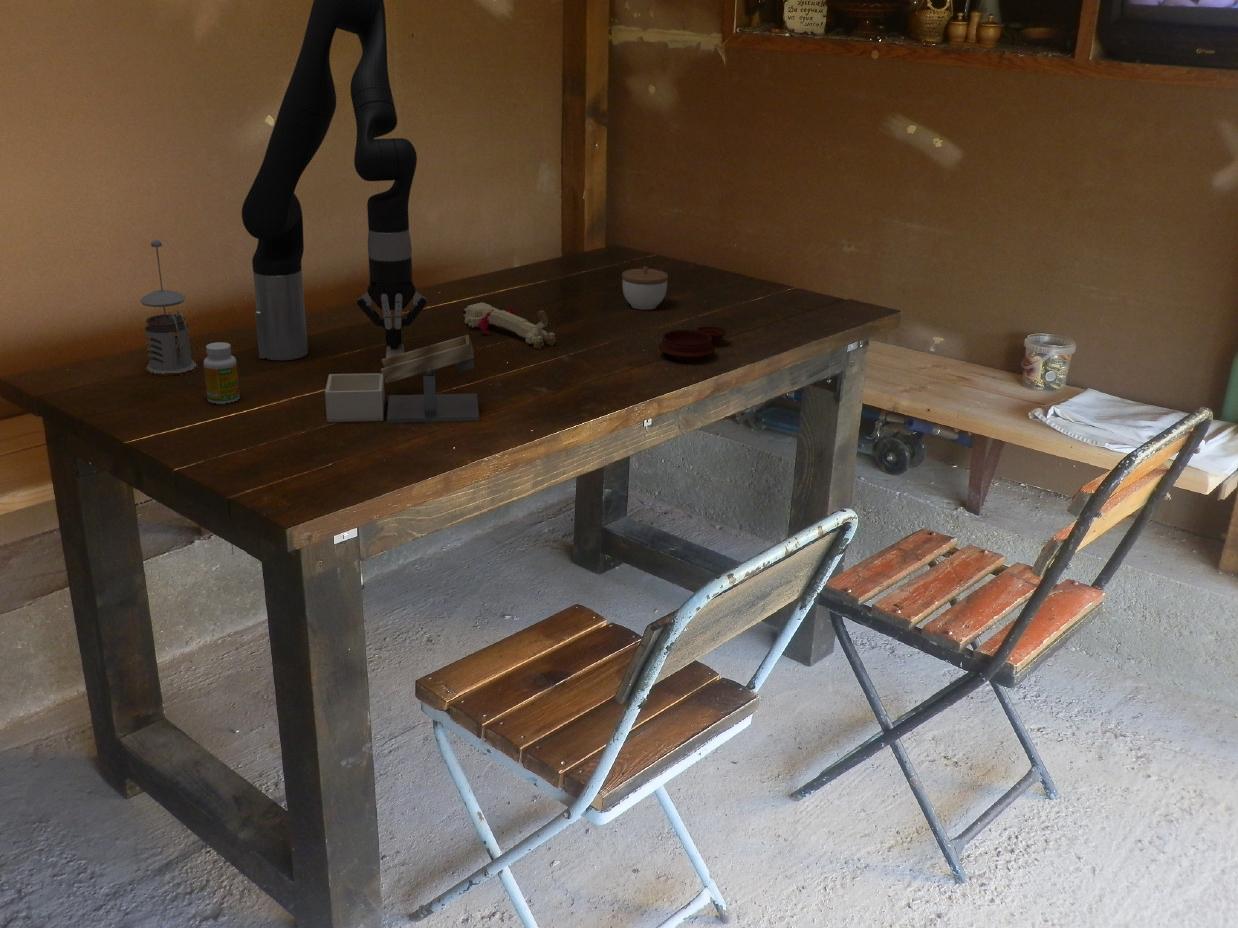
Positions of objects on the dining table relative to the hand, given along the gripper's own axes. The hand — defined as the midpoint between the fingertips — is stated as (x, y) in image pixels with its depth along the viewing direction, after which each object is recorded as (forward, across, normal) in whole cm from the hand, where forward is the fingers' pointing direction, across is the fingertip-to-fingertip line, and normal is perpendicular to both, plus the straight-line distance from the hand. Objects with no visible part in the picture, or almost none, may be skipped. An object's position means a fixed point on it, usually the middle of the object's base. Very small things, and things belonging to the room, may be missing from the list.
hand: (394, 347), depth 220 cm
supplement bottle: (+9, -31, -1) cm, 32 cm away
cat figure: (+10, +23, +36) cm, 44 cm away
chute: (+2, +7, -6) cm, 9 cm away
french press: (+9, -43, +17) cm, 47 cm away
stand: (+9, +6, -9) cm, 14 cm away
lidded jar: (+10, +56, +56) cm, 80 cm away
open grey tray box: (+9, -7, -9) cm, 14 cm away
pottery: (+10, +62, +22) cm, 66 cm away
